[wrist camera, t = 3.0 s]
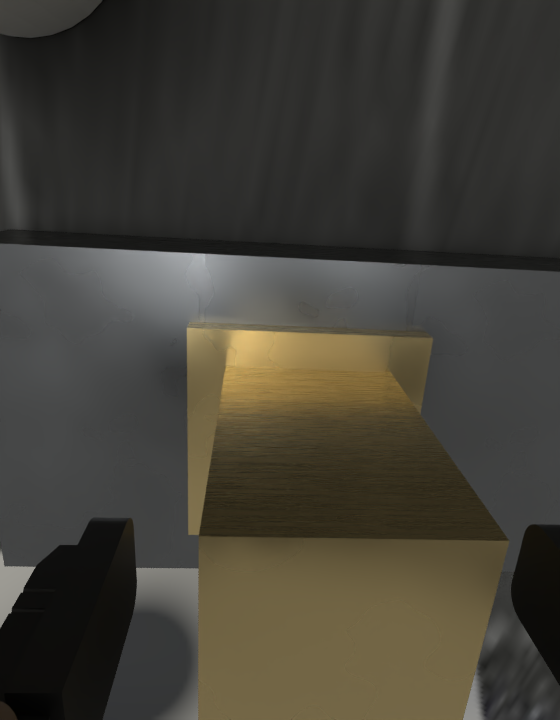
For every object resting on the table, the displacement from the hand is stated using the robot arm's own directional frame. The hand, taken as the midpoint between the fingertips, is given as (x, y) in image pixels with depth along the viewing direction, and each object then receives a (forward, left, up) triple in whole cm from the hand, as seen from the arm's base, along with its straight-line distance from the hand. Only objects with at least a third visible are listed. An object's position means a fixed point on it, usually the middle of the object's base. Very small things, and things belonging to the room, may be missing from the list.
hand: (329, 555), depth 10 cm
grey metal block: (0, 0, -8) cm, 8 cm away
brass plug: (0, 0, -8) cm, 8 cm away
